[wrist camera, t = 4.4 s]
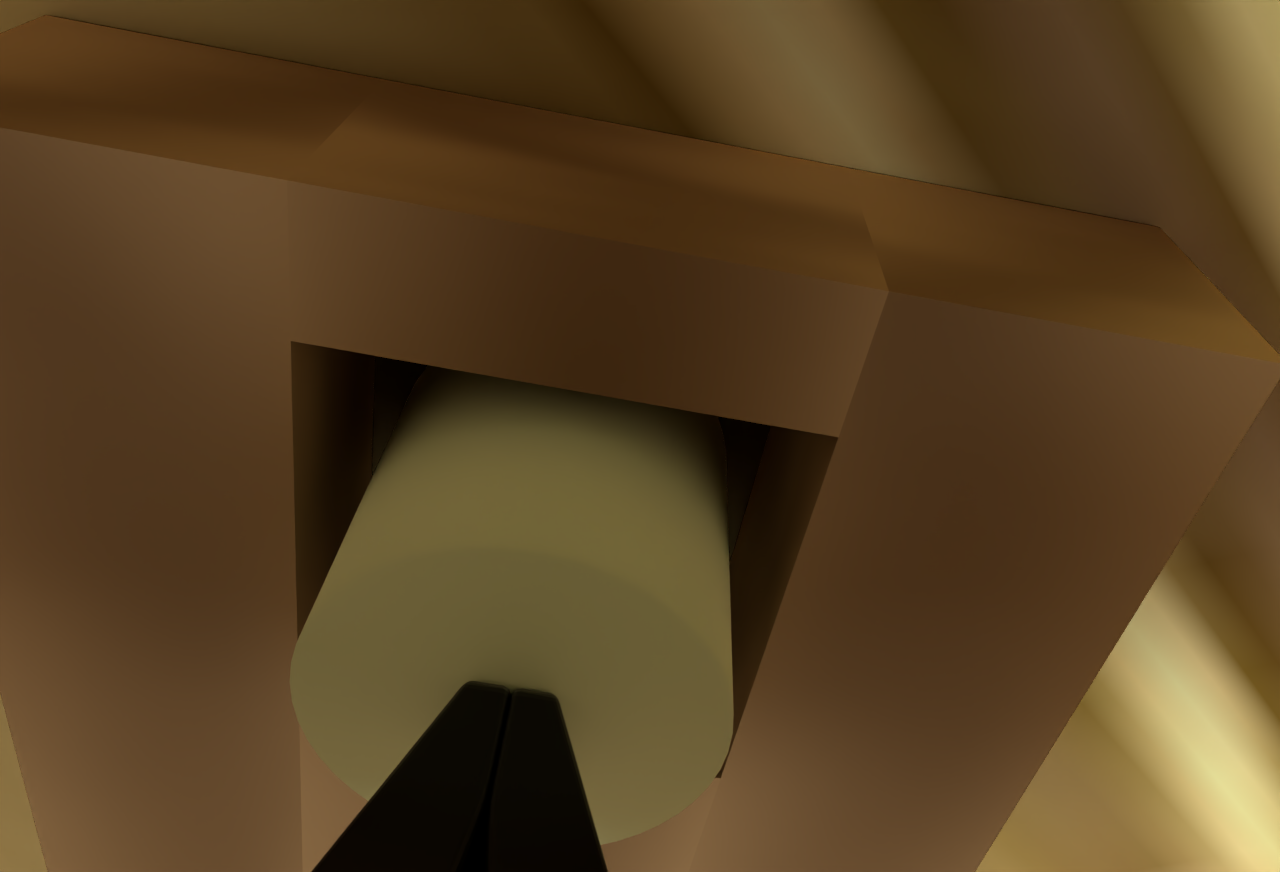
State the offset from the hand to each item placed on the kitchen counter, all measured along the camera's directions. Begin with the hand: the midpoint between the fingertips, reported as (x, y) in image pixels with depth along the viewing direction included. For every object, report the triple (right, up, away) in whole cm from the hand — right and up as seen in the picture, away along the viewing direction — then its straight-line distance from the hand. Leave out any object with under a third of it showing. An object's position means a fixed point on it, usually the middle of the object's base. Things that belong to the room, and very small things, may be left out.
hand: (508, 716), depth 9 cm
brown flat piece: (-1, -4, +9) cm, 10 cm away
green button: (0, +2, +3) cm, 4 cm away
